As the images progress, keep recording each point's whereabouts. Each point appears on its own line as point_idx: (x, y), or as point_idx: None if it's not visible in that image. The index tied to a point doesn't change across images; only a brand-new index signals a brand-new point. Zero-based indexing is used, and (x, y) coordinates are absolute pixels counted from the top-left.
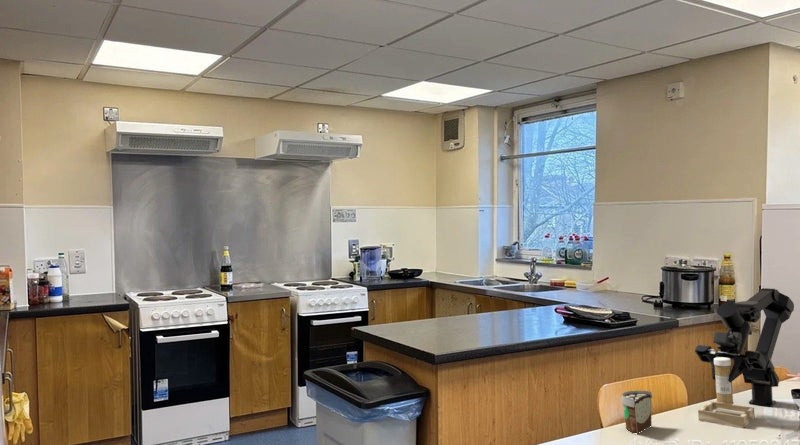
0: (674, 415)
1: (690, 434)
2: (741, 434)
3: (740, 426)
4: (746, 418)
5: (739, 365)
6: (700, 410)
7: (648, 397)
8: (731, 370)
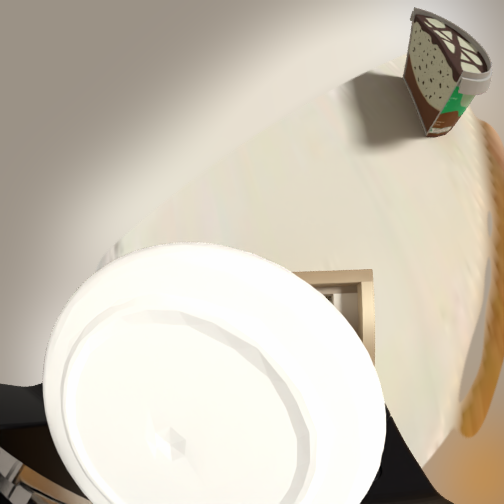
0: (446, 286)
1: (319, 128)
2: (200, 212)
3: None
4: None
5: (40, 387)
6: (364, 273)
7: (451, 69)
8: None
